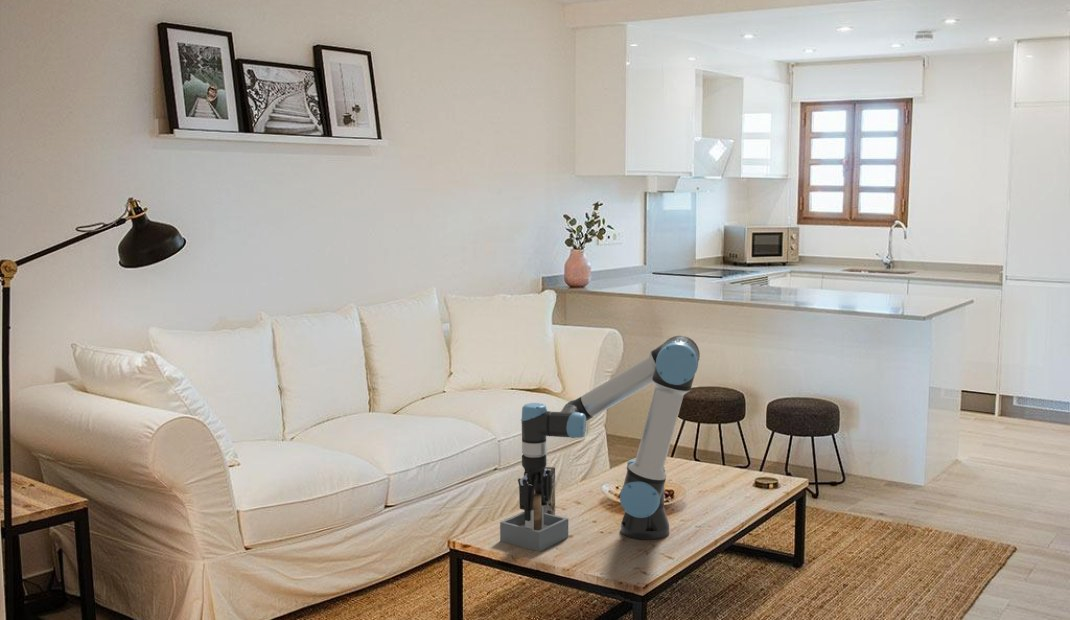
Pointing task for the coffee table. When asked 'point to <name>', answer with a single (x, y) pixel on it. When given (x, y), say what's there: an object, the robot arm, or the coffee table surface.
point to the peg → (537, 511)
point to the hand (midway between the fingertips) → (534, 527)
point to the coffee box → (550, 492)
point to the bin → (534, 532)
